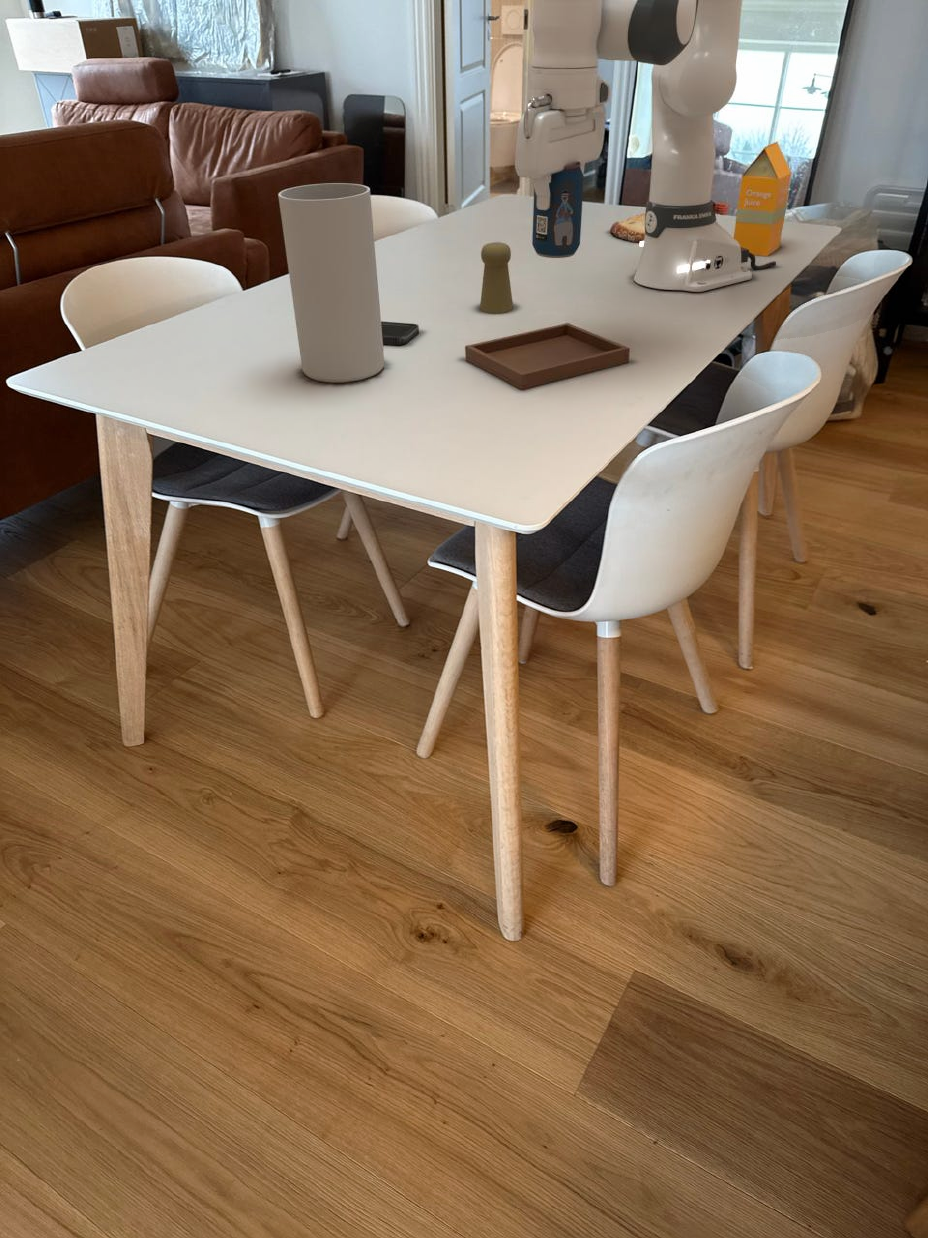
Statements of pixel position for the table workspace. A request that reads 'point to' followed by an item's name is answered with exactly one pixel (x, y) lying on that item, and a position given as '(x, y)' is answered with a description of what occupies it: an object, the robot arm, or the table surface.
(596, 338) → the tray
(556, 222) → the soda can
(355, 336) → the cylinder vase
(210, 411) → the table surface
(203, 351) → the table surface
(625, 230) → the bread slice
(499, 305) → the olive pawn
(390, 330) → the phone
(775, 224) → the orange juice
